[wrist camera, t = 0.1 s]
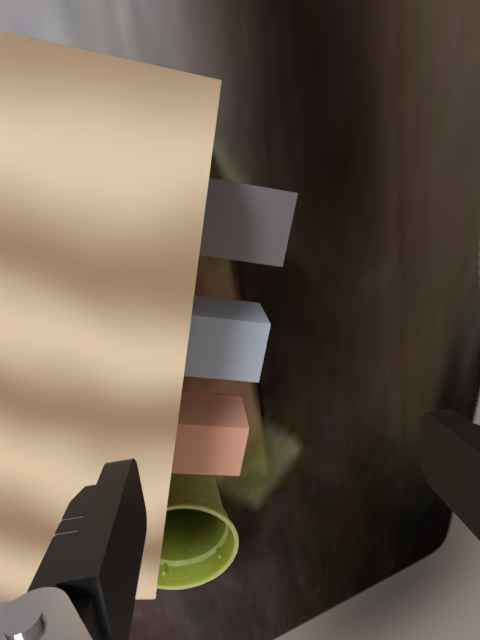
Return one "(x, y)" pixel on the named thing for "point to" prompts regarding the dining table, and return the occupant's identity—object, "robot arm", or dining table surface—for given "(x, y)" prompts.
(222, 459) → the key terracotta
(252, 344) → the key slate
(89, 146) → the console
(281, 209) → the key charcoal
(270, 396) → the dining table surface
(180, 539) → the plant pot
